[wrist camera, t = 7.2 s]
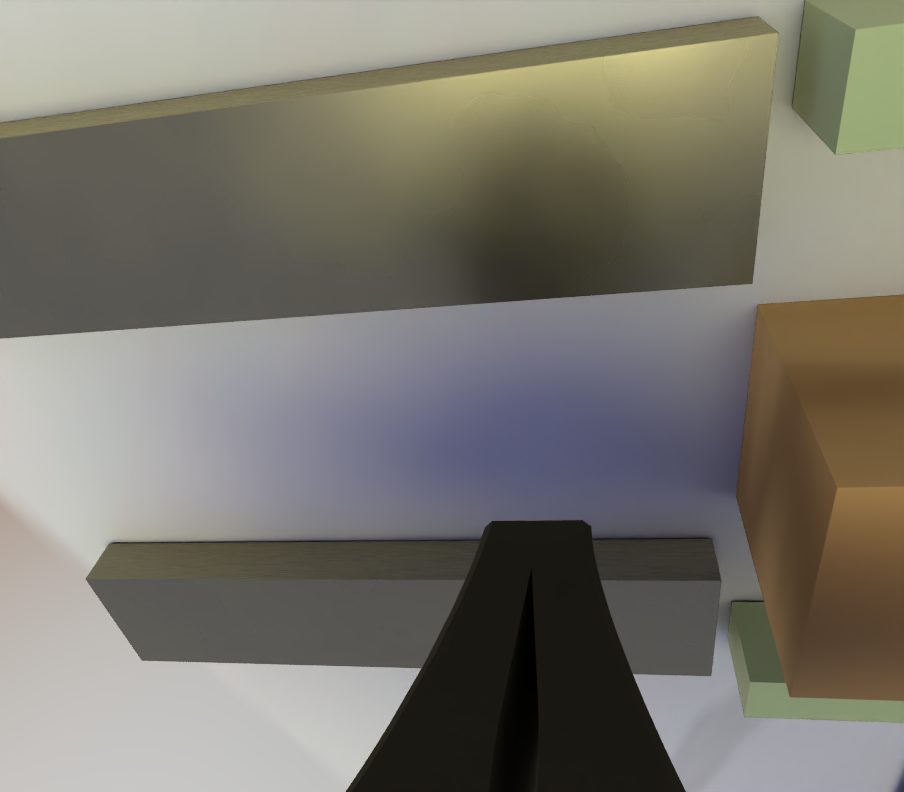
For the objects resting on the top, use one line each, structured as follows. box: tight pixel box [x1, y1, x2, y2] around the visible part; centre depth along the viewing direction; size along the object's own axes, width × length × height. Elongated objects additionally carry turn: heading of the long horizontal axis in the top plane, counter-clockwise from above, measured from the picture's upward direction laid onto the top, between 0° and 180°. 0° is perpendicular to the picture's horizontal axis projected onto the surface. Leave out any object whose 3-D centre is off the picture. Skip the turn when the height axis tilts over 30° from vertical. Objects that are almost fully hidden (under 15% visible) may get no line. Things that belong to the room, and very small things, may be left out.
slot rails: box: [0, 17, 779, 676], centre depth 13 cm, size 12×13×1 cm
